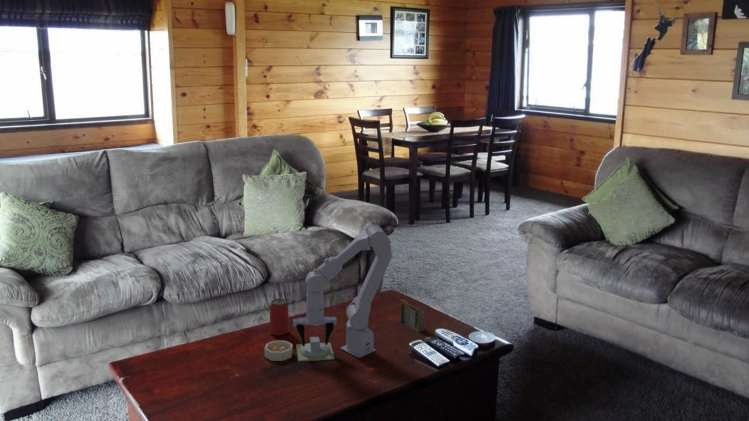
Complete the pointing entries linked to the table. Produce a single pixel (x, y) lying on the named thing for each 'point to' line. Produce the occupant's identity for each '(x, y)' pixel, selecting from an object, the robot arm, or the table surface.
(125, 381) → the table surface
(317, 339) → the lid
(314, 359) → the mat
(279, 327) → the beer can
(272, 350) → the bowl
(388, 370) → the table surface
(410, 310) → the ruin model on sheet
